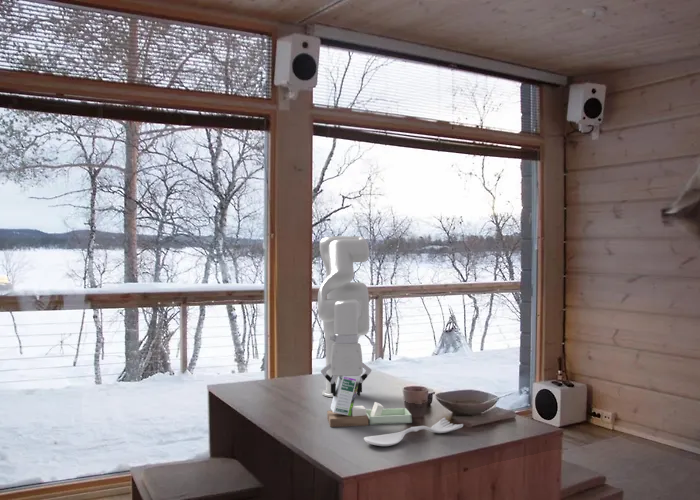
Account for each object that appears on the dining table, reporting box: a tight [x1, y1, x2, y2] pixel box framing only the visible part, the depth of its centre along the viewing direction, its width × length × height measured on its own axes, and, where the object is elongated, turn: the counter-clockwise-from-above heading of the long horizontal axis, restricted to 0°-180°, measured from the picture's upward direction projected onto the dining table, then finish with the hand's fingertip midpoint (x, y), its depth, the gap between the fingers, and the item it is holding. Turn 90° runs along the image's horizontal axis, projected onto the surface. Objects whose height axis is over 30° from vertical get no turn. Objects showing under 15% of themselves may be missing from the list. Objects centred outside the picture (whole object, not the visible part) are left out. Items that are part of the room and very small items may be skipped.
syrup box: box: [330, 374, 362, 416], centre depth 202 cm, size 6×6×14 cm
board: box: [326, 410, 369, 428], centre depth 202 cm, size 10×12×2 cm
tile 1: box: [351, 405, 367, 416], centre depth 202 cm, size 4×4×2 cm
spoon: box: [363, 417, 464, 447], centre depth 185 cm, size 9×32×4 cm, turn 121°
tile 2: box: [370, 401, 385, 416], centre depth 204 cm, size 4×4×2 cm
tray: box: [366, 407, 413, 426], centre depth 204 cm, size 9×14×2 cm, turn 98°
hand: (346, 394), depth 202 cm, fingers closed on syrup box, 7 cm apart
